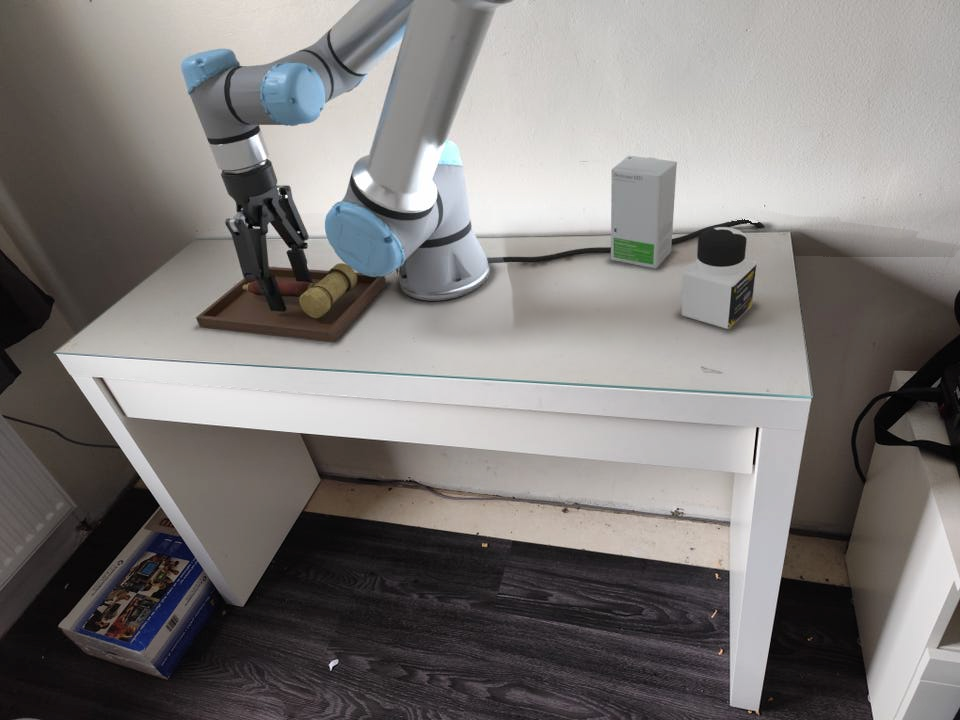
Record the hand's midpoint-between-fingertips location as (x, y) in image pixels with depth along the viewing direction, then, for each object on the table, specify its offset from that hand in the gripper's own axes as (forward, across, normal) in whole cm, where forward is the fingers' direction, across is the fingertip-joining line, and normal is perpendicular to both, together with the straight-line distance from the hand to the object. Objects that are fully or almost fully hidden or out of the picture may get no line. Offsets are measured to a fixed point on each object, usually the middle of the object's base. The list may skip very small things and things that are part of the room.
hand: (292, 297), depth 112 cm
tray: (+2, 0, 0) cm, 2 cm away
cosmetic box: (+2, -23, +54) cm, 59 cm away
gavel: (0, 0, 0) cm, 0 cm away
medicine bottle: (+2, -8, +67) cm, 67 cm away
